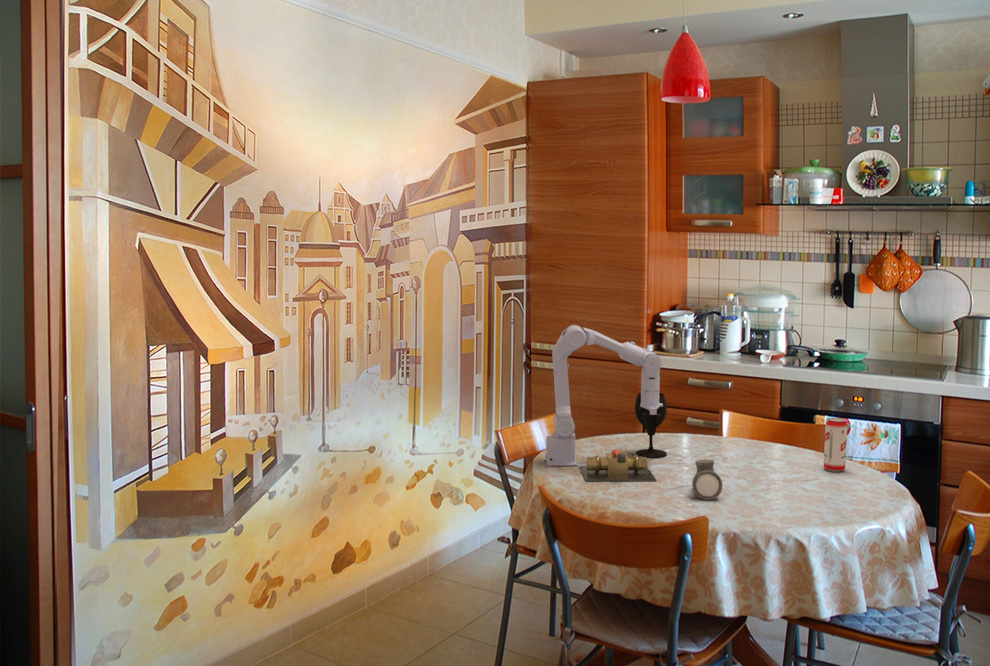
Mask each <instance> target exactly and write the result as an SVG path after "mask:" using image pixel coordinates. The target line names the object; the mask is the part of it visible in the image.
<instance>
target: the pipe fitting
mask: <svg viewBox="0 0 990 666" xmlns="http://www.w3.org/2000/svg"><path fill="white" fill-rule="evenodd" d="M714 465H715V461H714V459H698V460H695V466H696V473H695V474H694V477H693V479H692V481H691V483H692V484H691V486H692V490H693V492H694V494H695V495H696V497H698V498H699V499H701V500H705V501H711V500H714V499H716V498H718V497H719V496H720V495H721V493H722V491H723V481H722V479H721V476H719V474H718V473H717V472H715V469H714Z"/></svg>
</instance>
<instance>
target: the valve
mask: <svg viewBox="0 0 990 666" xmlns="http://www.w3.org/2000/svg"><path fill="white" fill-rule="evenodd" d="M585 460H586V464H585V465H579V470H580V471H581V474H582V477H583V478H584V481H585V483H623V482H627V483H630V482H633V483H634V482H636V483H637V482H638V483H639V482H641V483H643V482H644V483H645V482H646V483H649V482H650V483H651V482H653V483H654V482H657V481H658V480H657V479H656V477H655V475H654V474H653V473H652V472H651V470H650V469H649V467H648V459H647V457H640V456H638V455H636V454H635V455H633V456H628V455H627V454H626V462H625V463H618V462H617V458H616V456H615V455H612V452H605V456H600V455H594V456H590V457H589V456H588V457H586V459H585Z"/></svg>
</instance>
